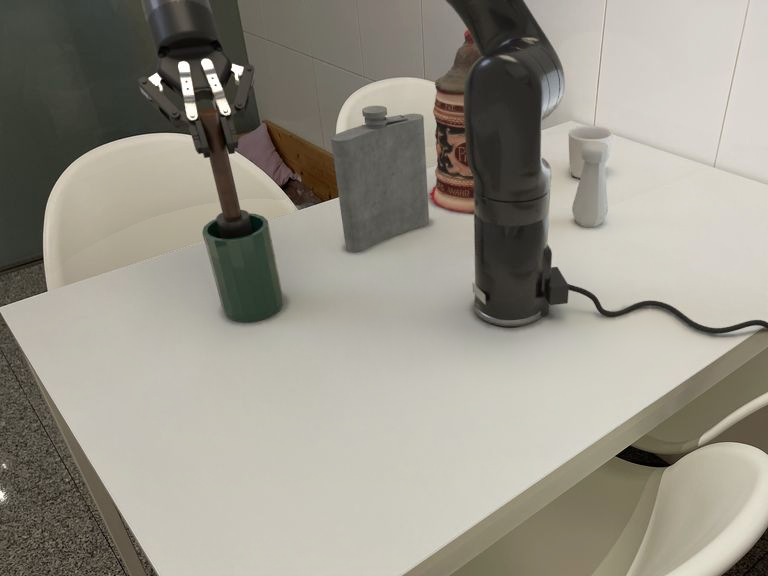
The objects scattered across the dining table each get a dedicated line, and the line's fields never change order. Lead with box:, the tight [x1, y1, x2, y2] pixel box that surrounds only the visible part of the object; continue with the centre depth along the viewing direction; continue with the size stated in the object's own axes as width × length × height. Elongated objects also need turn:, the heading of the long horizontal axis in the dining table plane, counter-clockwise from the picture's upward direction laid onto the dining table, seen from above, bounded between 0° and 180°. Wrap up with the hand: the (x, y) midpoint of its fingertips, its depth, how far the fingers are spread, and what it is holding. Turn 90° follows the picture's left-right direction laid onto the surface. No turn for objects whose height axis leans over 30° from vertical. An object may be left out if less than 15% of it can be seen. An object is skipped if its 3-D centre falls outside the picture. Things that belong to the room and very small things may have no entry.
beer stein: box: [428, 29, 481, 214], centre depth 117 cm, size 17×28×18 cm
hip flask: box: [330, 105, 430, 253], centre depth 107 cm, size 16×4×20 cm, turn 132°
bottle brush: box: [198, 108, 253, 239], centre depth 85 cm, size 4×4×18 cm
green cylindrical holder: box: [201, 212, 285, 323], centre depth 92 cm, size 8×8×12 cm
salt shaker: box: [571, 142, 610, 228], centre depth 111 cm, size 6×6×13 cm
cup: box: [567, 125, 614, 179], centre depth 128 cm, size 11×8×8 cm
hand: (219, 152), depth 81 cm, fingers closed on bottle brush, 2 cm apart
